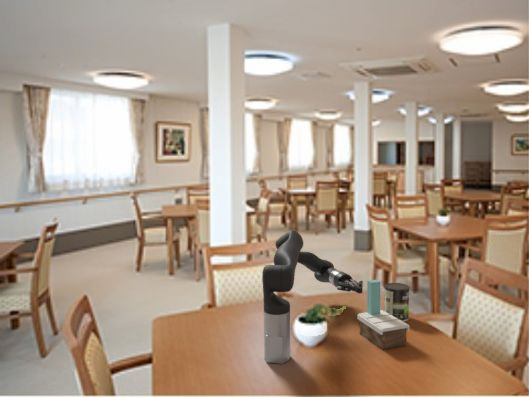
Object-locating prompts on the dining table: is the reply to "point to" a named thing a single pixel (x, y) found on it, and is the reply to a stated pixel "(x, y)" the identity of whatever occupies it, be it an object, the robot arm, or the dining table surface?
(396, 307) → the coffee can
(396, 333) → the tub
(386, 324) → the lid
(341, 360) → the dining table surface
